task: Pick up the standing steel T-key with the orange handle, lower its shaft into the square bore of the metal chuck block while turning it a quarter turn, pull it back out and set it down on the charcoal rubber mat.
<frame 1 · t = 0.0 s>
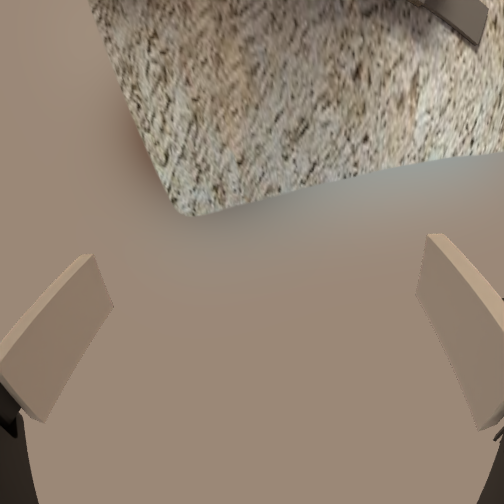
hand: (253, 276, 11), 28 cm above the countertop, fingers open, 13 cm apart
mat: (454, 5, 22), on the countertop
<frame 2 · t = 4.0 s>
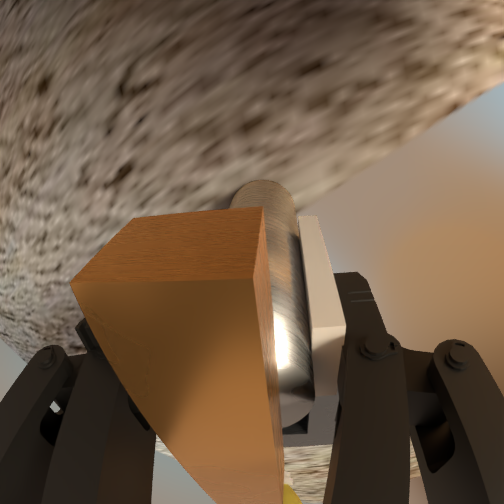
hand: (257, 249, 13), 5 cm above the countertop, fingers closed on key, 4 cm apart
chuck: (272, 343, 22), on the countertop
light bulb: (282, 472, 36), on the countertop
key: (262, 210, 17), on the countertop, touching gripper
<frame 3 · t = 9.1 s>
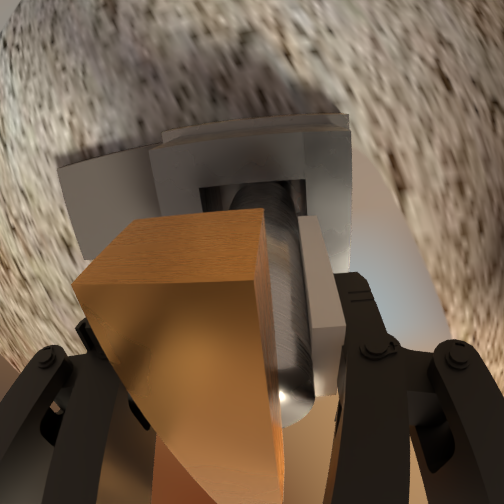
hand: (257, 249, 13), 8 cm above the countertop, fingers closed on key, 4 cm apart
chuck: (262, 191, 20), on the countertop
key: (262, 211, 17), point 4 cm above the countertop, touching gripper
mat: (124, 203, 21), on the countertop
when the fingers open (7 cm above the countertop, at t = 14.4 s): key stays where it is, resting on mat.
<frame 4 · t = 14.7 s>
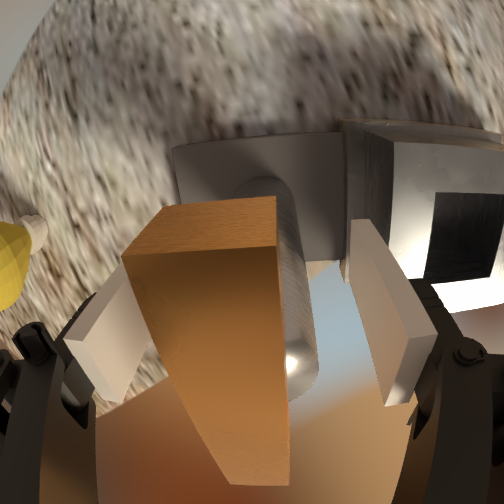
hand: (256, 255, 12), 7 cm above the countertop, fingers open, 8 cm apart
chuck: (418, 196, 17), on the countertop
light bulb: (40, 225, 21), on the countertop
key: (264, 205, 18), point 1 cm above the countertop, touching mat
mat: (264, 199, 19), on the countertop
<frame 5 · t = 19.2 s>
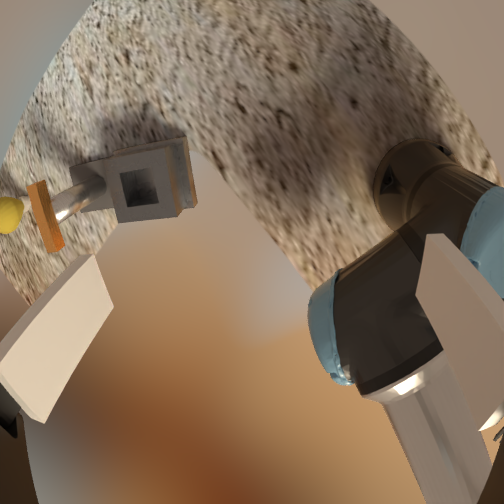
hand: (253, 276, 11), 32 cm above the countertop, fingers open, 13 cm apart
chuck: (156, 175, 42), on the countertop
light bulb: (28, 201, 46), on the countertop
key: (97, 186, 42), point 1 cm above the countertop, touching mat
mat: (100, 184, 43), on the countertop
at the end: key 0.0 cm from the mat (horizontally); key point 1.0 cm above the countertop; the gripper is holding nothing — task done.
